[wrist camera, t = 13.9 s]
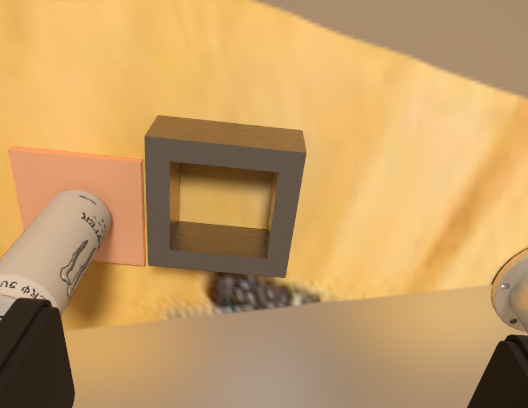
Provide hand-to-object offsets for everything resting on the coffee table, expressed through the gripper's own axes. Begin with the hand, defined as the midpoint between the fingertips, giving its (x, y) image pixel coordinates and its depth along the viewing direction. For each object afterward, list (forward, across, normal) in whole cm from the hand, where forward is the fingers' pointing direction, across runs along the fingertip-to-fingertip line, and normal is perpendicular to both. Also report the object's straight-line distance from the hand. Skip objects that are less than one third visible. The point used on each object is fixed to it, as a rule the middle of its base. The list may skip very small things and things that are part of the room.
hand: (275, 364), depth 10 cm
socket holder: (+32, +3, +13) cm, 34 cm away
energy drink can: (+31, +17, +16) cm, 39 cm away
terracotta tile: (+32, +18, +16) cm, 40 cm away
